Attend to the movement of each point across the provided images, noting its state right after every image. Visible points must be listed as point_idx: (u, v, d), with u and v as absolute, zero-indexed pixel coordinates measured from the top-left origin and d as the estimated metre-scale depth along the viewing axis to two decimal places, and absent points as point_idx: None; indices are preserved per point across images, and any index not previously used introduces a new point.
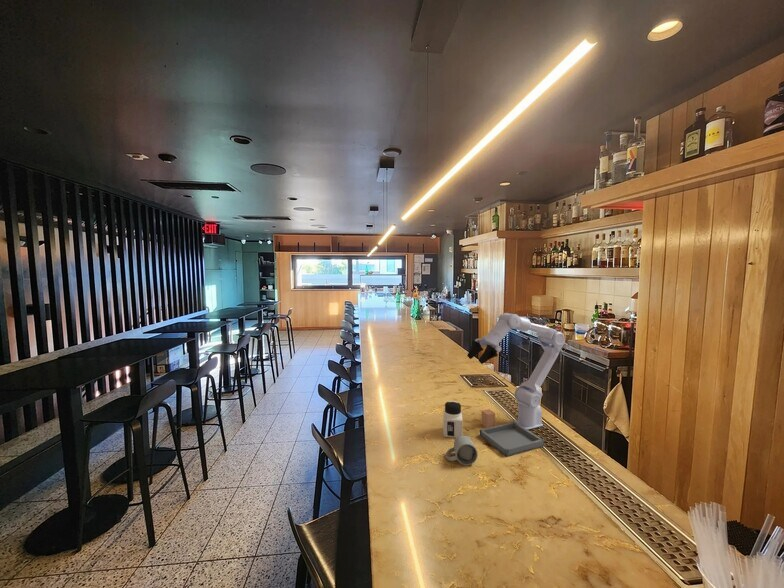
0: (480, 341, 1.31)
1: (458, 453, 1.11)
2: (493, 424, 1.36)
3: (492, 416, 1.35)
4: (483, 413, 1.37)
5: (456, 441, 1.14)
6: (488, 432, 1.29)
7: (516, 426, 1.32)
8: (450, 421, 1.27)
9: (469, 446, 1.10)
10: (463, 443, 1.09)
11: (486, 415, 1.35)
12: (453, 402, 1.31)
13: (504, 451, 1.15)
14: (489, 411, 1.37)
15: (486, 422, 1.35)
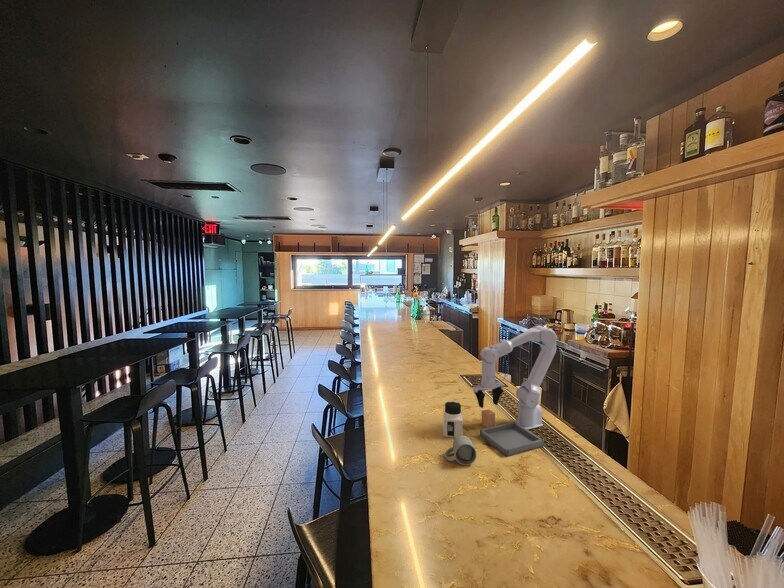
0: None
1: (457, 453, 1.11)
2: (493, 424, 1.36)
3: (492, 416, 1.35)
4: (483, 413, 1.37)
5: (455, 441, 1.14)
6: (488, 432, 1.29)
7: (516, 426, 1.32)
8: (450, 421, 1.27)
9: (468, 446, 1.10)
10: (462, 443, 1.09)
11: (486, 415, 1.35)
12: (453, 402, 1.31)
13: (504, 451, 1.15)
14: (489, 411, 1.37)
15: (486, 422, 1.35)
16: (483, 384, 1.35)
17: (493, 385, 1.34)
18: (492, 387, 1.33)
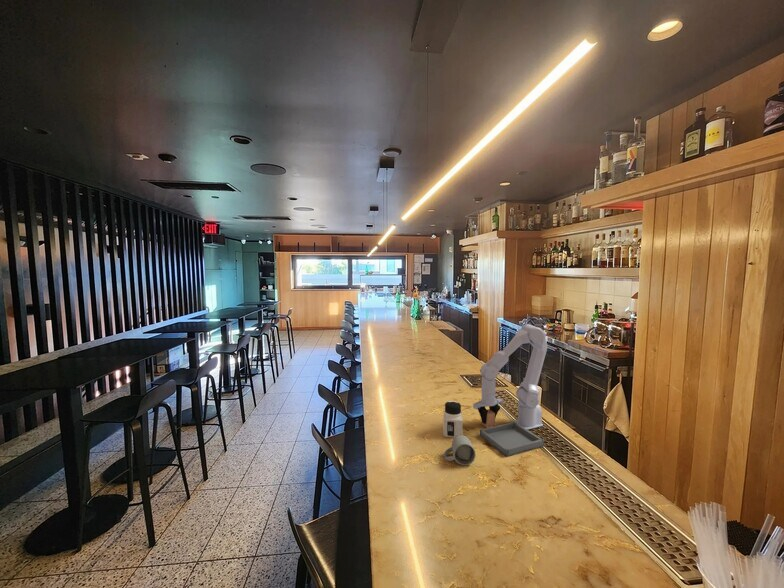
0: None
1: (456, 453, 1.11)
2: (493, 424, 1.36)
3: (492, 416, 1.35)
4: None
5: (454, 441, 1.14)
6: (488, 432, 1.29)
7: (516, 426, 1.32)
8: (450, 421, 1.27)
9: (467, 446, 1.10)
10: (461, 443, 1.09)
11: None
12: (453, 402, 1.31)
13: (504, 451, 1.15)
14: (489, 411, 1.37)
15: (486, 422, 1.35)
16: (483, 401, 1.35)
17: (493, 402, 1.34)
18: (492, 404, 1.34)
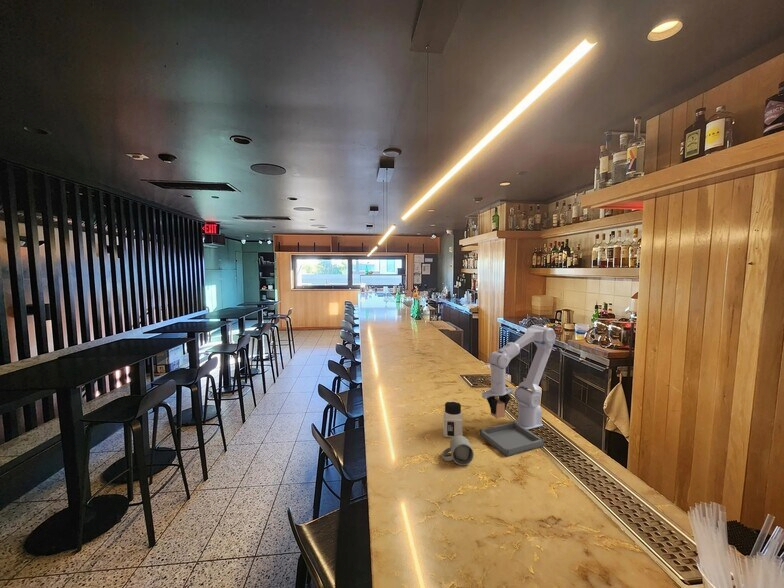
0: None
1: (454, 453, 1.11)
2: (503, 415, 1.30)
3: (502, 406, 1.29)
4: None
5: (452, 441, 1.14)
6: (488, 432, 1.29)
7: (516, 426, 1.32)
8: (450, 421, 1.27)
9: (465, 446, 1.10)
10: (459, 443, 1.09)
11: None
12: (453, 402, 1.31)
13: (504, 451, 1.15)
14: (498, 401, 1.31)
15: None
16: (492, 390, 1.29)
17: (503, 391, 1.28)
18: (502, 393, 1.27)
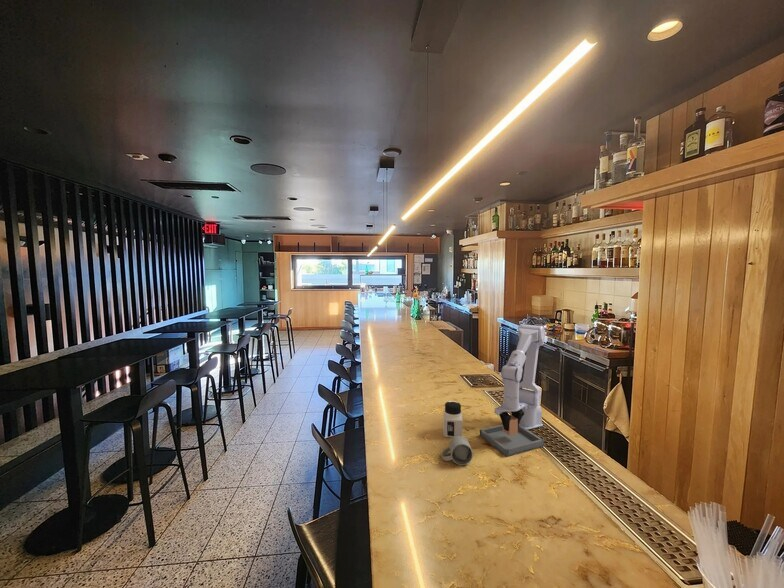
0: None
1: (453, 453, 1.11)
2: (516, 431, 1.23)
3: (515, 422, 1.22)
4: None
5: (452, 441, 1.14)
6: (488, 432, 1.29)
7: None
8: (450, 421, 1.27)
9: (464, 446, 1.10)
10: (458, 443, 1.09)
11: None
12: (453, 402, 1.31)
13: (504, 451, 1.15)
14: (511, 417, 1.24)
15: None
16: (505, 405, 1.22)
17: (517, 407, 1.21)
18: (516, 409, 1.20)
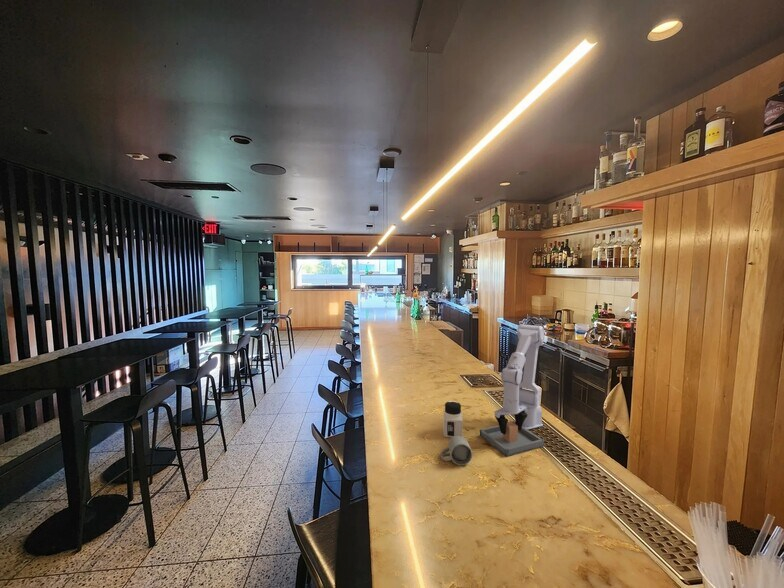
0: None
1: (453, 453, 1.11)
2: (516, 438, 1.23)
3: (515, 429, 1.23)
4: None
5: (451, 441, 1.14)
6: (488, 432, 1.29)
7: None
8: (450, 421, 1.27)
9: (464, 446, 1.10)
10: (458, 443, 1.09)
11: (508, 428, 1.22)
12: (453, 402, 1.31)
13: (504, 451, 1.15)
14: (511, 423, 1.24)
15: (508, 435, 1.22)
16: (505, 408, 1.22)
17: (517, 409, 1.21)
18: (516, 412, 1.21)
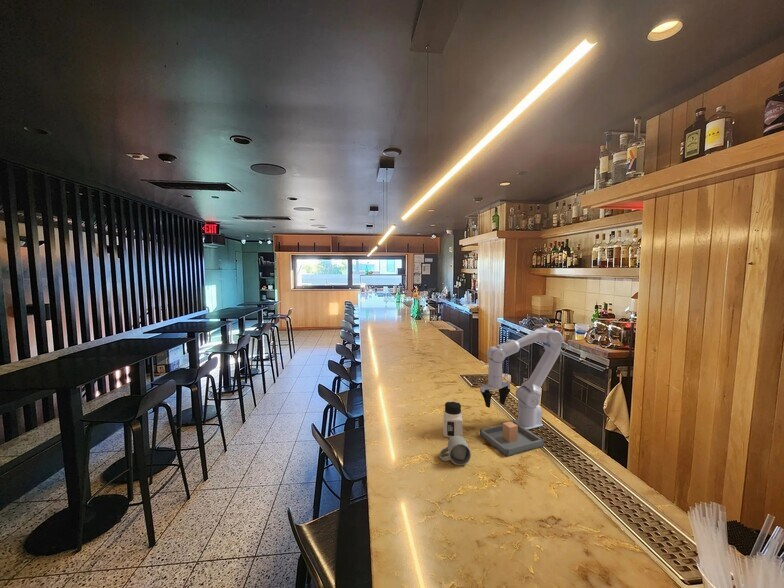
0: None
1: (451, 453, 1.11)
2: (516, 438, 1.23)
3: (515, 429, 1.23)
4: (504, 426, 1.24)
5: (450, 441, 1.14)
6: (488, 432, 1.29)
7: None
8: (450, 421, 1.27)
9: (462, 446, 1.10)
10: (456, 443, 1.09)
11: (508, 428, 1.22)
12: (453, 402, 1.31)
13: (504, 451, 1.15)
14: (511, 423, 1.24)
15: (508, 435, 1.22)
16: (490, 384, 1.34)
17: (500, 385, 1.32)
18: (499, 387, 1.32)
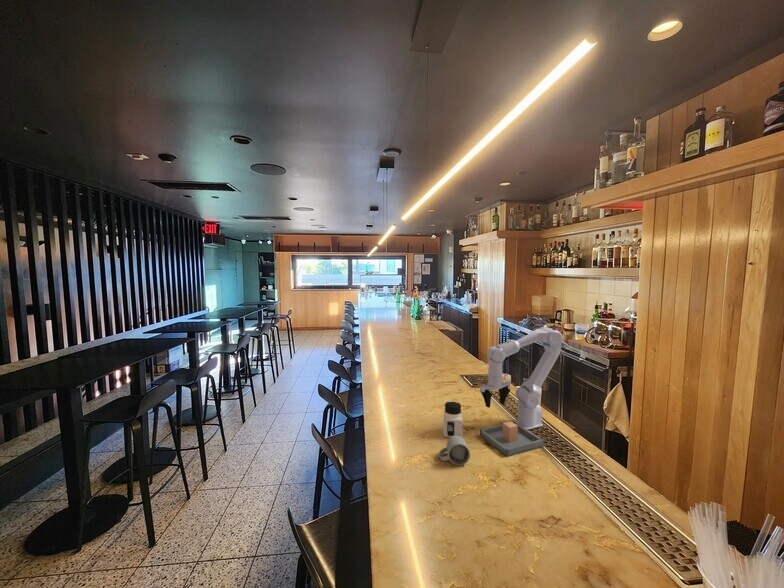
0: None
1: (451, 453, 1.11)
2: (516, 438, 1.23)
3: (515, 429, 1.23)
4: (504, 426, 1.24)
5: (449, 441, 1.14)
6: (488, 432, 1.29)
7: None
8: (450, 421, 1.27)
9: (461, 446, 1.10)
10: (455, 443, 1.09)
11: (508, 428, 1.22)
12: (453, 402, 1.31)
13: (504, 451, 1.15)
14: (511, 423, 1.24)
15: (508, 435, 1.22)
16: (490, 384, 1.34)
17: (500, 385, 1.32)
18: (499, 387, 1.32)
